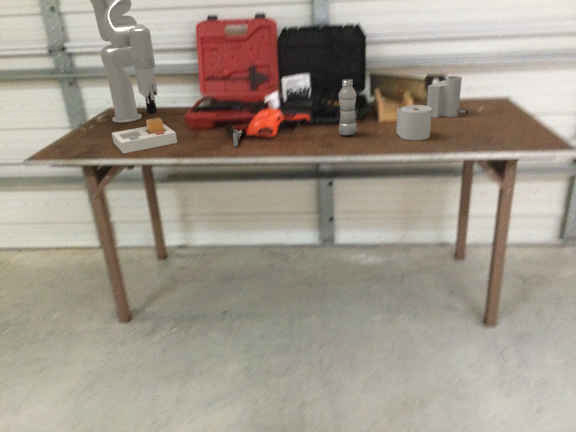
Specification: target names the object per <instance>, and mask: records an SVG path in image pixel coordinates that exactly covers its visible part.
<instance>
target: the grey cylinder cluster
mask: <svg viewBox="0 0 576 432" xmlns="http://www.w3.org/2000/svg"><path fill="white" fill-rule="evenodd" d="M445 79H446V80H441V81H437V82H434V83H433V84H430V85H427V100H426V101H427V102H426V106H429V107H431V108H432V112H431V118H437V119H438V118H439V117H446V118H456V117H459V114H466V115H467V114H468V113H469V111H468V110H465V109H464V110H463V109H461V107H460V102H461V101H460V100H461V89H462V79H463V78H462V76H460V75H450V76H449V75H448V76H446V78H445Z"/></svg>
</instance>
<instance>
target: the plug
mask: <svg viewBox="0 0 576 432" xmlns="http://www.w3.org/2000/svg"><path fill="white" fill-rule="evenodd" d="M163 121H164V120H163V119H161V118H160V117H154V118H149V119H146V120H145V123H146V126H147V130H148V134H153V133H155V132H160V131H164V127H163V124H164V122H163Z"/></svg>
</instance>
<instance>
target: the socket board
mask: <svg viewBox="0 0 576 432" xmlns="http://www.w3.org/2000/svg"><path fill="white" fill-rule="evenodd" d="M163 127H164V131H160V132H155V133H153V134H148V130H147V125H146V126H143V127H142V126H141V127H136V128H132V129H130V128H129V129H125V130H121V131H114V132H111V137H112V140H113V144H114V145H115V146H116V148H118V150H119V151H120V152H121V153H122V154H129V153H135V152H139V151H140V152H141V151H144V150H148V149H153V148H159V147H163V146H168V145H173V144H178V140H177V139H178V137H177V133H176V132H175V131H174V130H173V129H172V128H170V127H168V126H167V125H166V124H164V123H163Z"/></svg>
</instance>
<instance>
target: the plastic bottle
mask: <svg viewBox="0 0 576 432" xmlns="http://www.w3.org/2000/svg"><path fill="white" fill-rule="evenodd" d="M353 81H354V80H353V79H351V78H344V79H342V84H341V85H342V88H340V91H339V92H338V101H339V102H338V103H339V112H340V115H339V116H340V117H339V124H338V132H339V133H340V135H341V136H353V135H355V134H356V132H357V123H356V102H357V92H356V90H355V89H354V87H353V85H354V84H353Z"/></svg>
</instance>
